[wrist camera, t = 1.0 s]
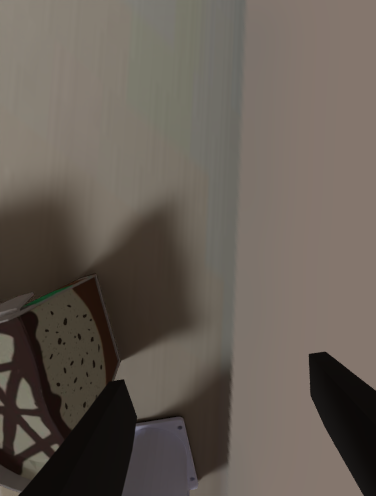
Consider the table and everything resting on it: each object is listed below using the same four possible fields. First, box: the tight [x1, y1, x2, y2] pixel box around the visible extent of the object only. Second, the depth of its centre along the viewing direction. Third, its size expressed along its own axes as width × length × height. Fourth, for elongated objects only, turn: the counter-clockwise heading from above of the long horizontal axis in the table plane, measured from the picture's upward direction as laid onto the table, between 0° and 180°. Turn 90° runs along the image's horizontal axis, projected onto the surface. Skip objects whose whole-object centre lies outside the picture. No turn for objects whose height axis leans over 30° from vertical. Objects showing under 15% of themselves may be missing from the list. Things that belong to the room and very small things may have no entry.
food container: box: [0, 273, 121, 493], centre depth 17 cm, size 12×6×10 cm, turn 10°
